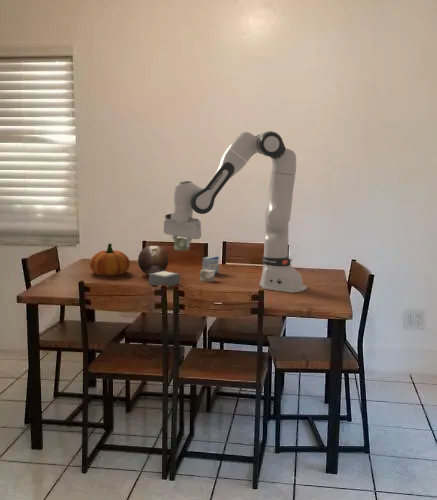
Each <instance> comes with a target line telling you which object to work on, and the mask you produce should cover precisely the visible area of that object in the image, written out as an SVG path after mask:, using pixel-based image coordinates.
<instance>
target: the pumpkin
mask: <svg viewBox="0 0 437 500" xmlns="http://www.w3.org/2000/svg"><path fill="white" fill-rule="evenodd" d="M112 247H113V246H112V243H107V249H106V250H100V251H98V252H96V253H95V254H94V255H93V256H92V257H91V259H90V261H89V267H90V270H91V271H92V272H93V273H94V274H97V275H100V276H101V277H102V276H105V277H106V276H107V277H114V276H120V275H123V274H126V272H127V271H128V270H129V269H130V265H131V261H130V258H129V257H128V256H127V254H125V253H124V252H122V251H120V250H116V249H115V250H113V248H112Z"/></svg>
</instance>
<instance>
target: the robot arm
mask: <svg viewBox="0 0 437 500" xmlns="http://www.w3.org/2000/svg"><path fill="white" fill-rule="evenodd" d="M255 154H261V155H263V156H265V157H270V158H271V162H272V163H271V164H272V166H271V170H270V171H271V173H270V180H269V185H268V186H269V187H268V193H267V194H268V196H267V203H266V204H267V205H266V209H265V211H264V213H265V214H264V215H265V216H264V241H263V242H264V244H263V245H264V246H263V247H264V248H263V250H264V251H263V255H262V272H261V278H260V280H259V281H260V282H259V286H260V287H261V288H262V290H271V291H277V292H283V293H292V294H293V293H301V292H304V291H306V290H307V289H308V285H305V284H303V276H302V274H301V273H299V271H298V270H296V269H295V268H294V266H292V264H291V262H292V261H293V258H289V256H288V255H289V252H288V251H289V222H290V221H291V216H292V205H293V195H294V194H293V193H294V186H295V181H296V173H297V172H296V171H297V155H296V153H295V151H293V150H292V149H290V148H286V146H285V143H284V141H283V139H282V137H281V135H280V134H279V133H278V132H275V131H271V130H270V131H269V130H268V131H264V132H261V133H259V134H257V135H254V134H253V133H251V132H248V131H244V132H243V131H242V132H241V133H240V134H239V135H238V136H237V137H235V139H234V140H233V141H232V142H231V143H229V145H228V147H227V148H226V149H225V151H224V153H223V154H222V156H221V157H220V160H219V164H218V166H217V167H218V168H217V170H216V171H215V173H214V175H213V176H212V177H211V179H210V180H209V181H208V183H207V184H206V185H205V187H200V186H198V185H196V184H195V183H193V182H192V181H191V180H189V181H187V180H185V181H180V182H178V183H177V184H176V185H175V187H174V193H173V203H174V206H173V211H172V212H169V213H165V214H164V221H163V232H164V235H171V237H172V239H173V241H174V239H177V238H186V239H187V240H188V241H187V243H185V247H189V248H190V246H191V245H190V244H191V243H192V240H199V239H201V237H202V225H201V224H202V222H201V220H200V219H198V218H195V217H193V214H194V212H195V213H196V214H200V215H204V214H205V215H206V214H207V213H209V212H211V210H212V209H213V207H214V205H215V204H214V203H215V200H216V197H217V196H218V195H219V193H220V192H221V191H222V189H223V188H224V186H225V185H226V184H227V183H228V181H229V180H230V179H232V178H233V177H234V176H235V175H236V174H238V173H239V172H240V171H241V170H242V169H244V167H245V166H246V165H247V163H248V162H249V160H250V159H251V158H252V157H253V156H254V155H255ZM193 211H194V212H193Z"/></svg>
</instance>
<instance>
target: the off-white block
mask: <svg viewBox="0 0 437 500" xmlns="http://www.w3.org/2000/svg"><path fill="white" fill-rule="evenodd" d="M199 273H200V274H199V281H200V282H206V283H210V282H214V281H215V275H216V274H215V270H209V269H205V270H202V269H201V270H200V271H199Z"/></svg>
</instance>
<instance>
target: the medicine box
mask: <svg viewBox="0 0 437 500" xmlns="http://www.w3.org/2000/svg"><path fill="white" fill-rule="evenodd" d="M219 258H220V257H219V256H217V255H210V256H209V255H208V256H206V257H202V269H201V270H205V269H209V270H215V275H216V274H219Z"/></svg>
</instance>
